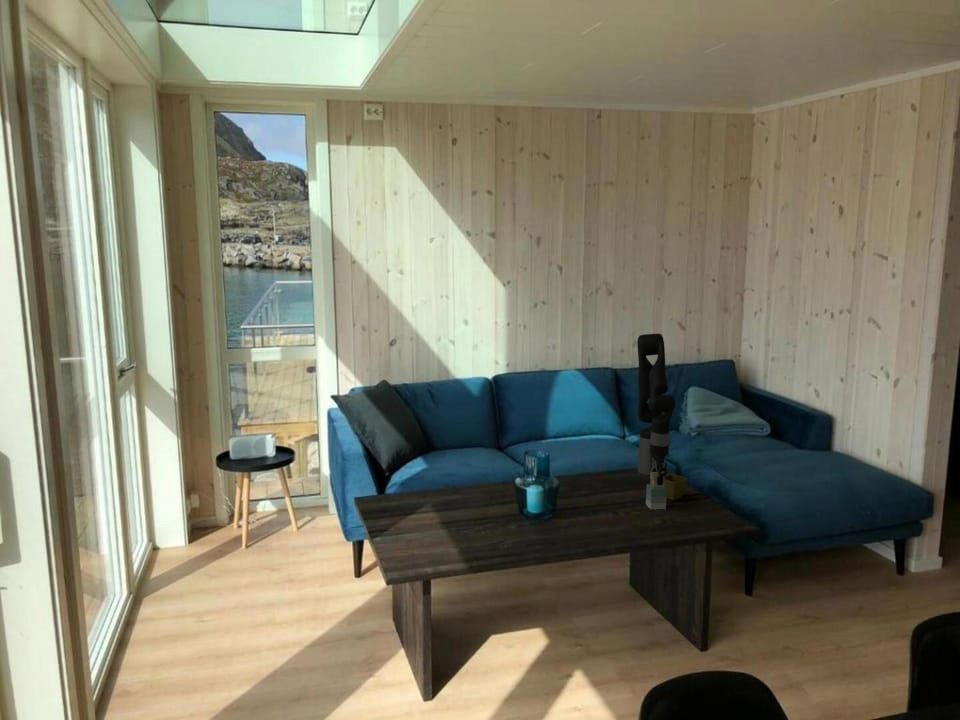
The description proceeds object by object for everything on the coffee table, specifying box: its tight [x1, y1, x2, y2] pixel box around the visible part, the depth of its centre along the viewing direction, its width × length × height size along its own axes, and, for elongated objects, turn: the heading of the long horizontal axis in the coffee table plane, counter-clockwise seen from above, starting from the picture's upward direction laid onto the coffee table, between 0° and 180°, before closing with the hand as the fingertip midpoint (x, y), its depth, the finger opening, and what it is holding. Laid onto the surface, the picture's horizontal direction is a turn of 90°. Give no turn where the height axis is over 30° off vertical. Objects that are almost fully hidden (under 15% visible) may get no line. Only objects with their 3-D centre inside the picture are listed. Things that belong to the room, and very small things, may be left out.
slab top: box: [645, 483, 667, 497], centre depth 316 cm, size 6×6×3 cm
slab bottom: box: [645, 497, 667, 511], centre depth 317 cm, size 6×6×3 cm
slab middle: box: [645, 492, 668, 504], centre depth 317 cm, size 6×6×3 cm
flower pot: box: [664, 473, 688, 501], centre depth 327 cm, size 9×9×9 cm
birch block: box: [649, 472, 665, 489], centre depth 315 cm, size 5×5×6 cm
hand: (657, 482), depth 315 cm, fingers open, 6 cm apart
